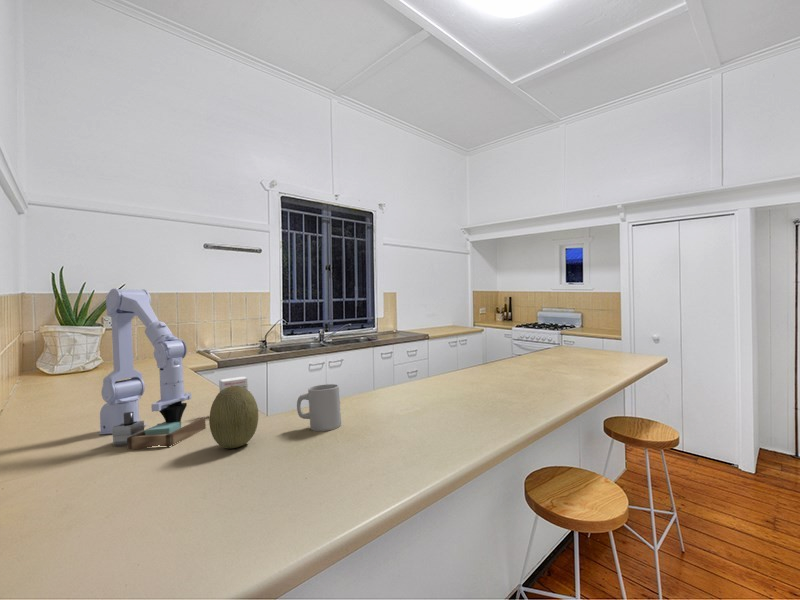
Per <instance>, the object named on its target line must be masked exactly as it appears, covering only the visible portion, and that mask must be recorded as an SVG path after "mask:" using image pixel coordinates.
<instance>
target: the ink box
mask: <svg viewBox="0 0 800 600" xmlns="http://www.w3.org/2000/svg"><path fill="white" fill-rule="evenodd" d="M218 382H219V383H218V384H219V392H220V391H222V390H223V389H225V388H227V387H231V386H241V387H244V388H246V389H247V390H248V391H249V387H248V386H249V384H248V377H246V376H245V375H244V376H236V377H229V378H222V379H220V380H218Z"/></svg>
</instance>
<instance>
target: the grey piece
mask: <svg viewBox="0 0 800 600" xmlns="http://www.w3.org/2000/svg"><path fill="white" fill-rule="evenodd" d="M144 424H145V420H139V421H134V424H131V425H125V426H124V423H122V424H119V425H116V426H114V427H112V430H113V434H112V446H113V447H117V448H118V447H126V446H127V438H128V437H130V436H133V435H135V434H137V433H140V432H142V431H144V430H145V426H144Z"/></svg>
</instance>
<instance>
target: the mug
mask: <svg viewBox="0 0 800 600" xmlns="http://www.w3.org/2000/svg"><path fill="white" fill-rule="evenodd" d="M307 391H308V393H303V394H300V395H299V397H298V398H297V401H296V409H297V414H298V416H299V418H301V419H303V420H309V427H310V430H311V431H314V432H328V431H333V430H336V429H339V428H340V427H341V426H342V413H341V400H340V399H341V398H340V386H339V385H338V384H334V383H332V384H328V383H327V384H318V385H314V386H310V387H309V388H308V390H307ZM303 400H307V401H308V407H309V409H308V410H309V411H308V412H303V411H302V407H301V404H302V401H303Z"/></svg>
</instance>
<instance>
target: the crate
mask: <svg viewBox="0 0 800 600" xmlns="http://www.w3.org/2000/svg"><path fill="white" fill-rule="evenodd" d="M149 428H150V429H149ZM149 428H147V429H148V430H147V429H144V430H145V435H161V434H170V433H172V432H174V431H176V430H178V429H180V428H182V421H181V422H172V423H163V422H161V423H157V424H156V425H154V426H152V428H151V427H149Z"/></svg>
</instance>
